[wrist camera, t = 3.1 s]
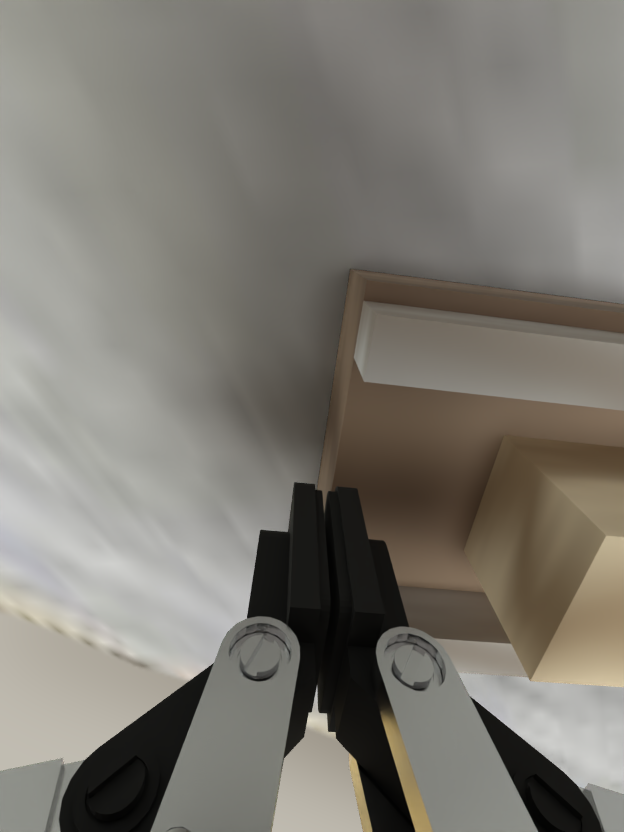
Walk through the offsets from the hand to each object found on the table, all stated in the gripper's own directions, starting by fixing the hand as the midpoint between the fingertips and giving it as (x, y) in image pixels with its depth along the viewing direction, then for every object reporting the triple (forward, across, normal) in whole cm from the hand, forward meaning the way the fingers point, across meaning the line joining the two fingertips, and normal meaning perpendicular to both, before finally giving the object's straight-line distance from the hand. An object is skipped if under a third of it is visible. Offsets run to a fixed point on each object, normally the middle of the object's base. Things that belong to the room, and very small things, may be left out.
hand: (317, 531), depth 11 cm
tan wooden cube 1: (+2, -8, 0) cm, 8 cm away
